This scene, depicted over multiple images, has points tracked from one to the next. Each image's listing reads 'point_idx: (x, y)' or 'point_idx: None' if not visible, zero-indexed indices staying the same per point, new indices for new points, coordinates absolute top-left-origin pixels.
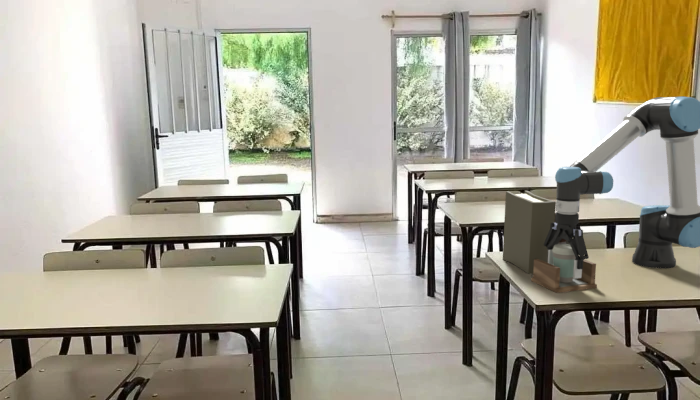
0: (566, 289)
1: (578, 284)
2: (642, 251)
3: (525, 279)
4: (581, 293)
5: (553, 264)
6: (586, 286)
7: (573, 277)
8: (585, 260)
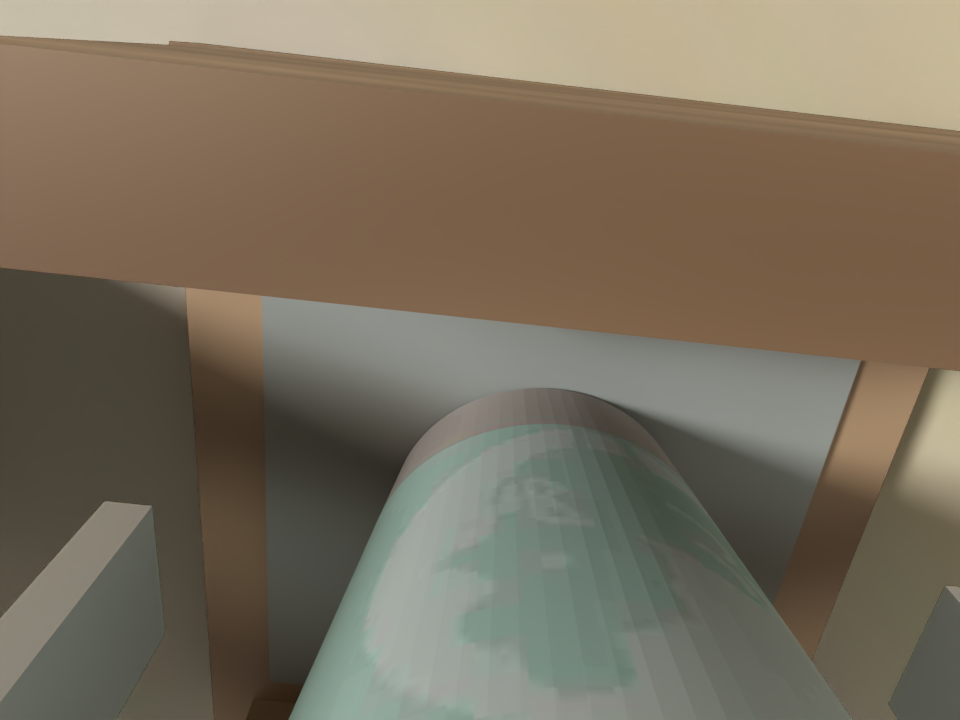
0: None
1: (821, 466)
2: None
3: (146, 710)
4: (954, 542)
5: (121, 596)
6: (919, 370)
7: (901, 715)
8: (911, 218)
